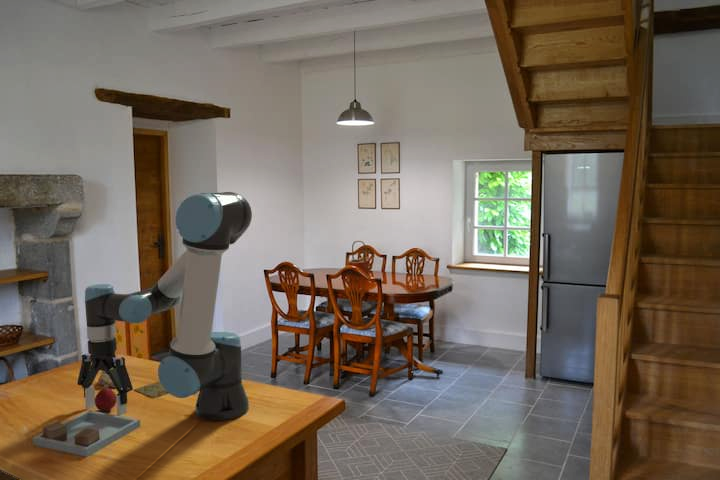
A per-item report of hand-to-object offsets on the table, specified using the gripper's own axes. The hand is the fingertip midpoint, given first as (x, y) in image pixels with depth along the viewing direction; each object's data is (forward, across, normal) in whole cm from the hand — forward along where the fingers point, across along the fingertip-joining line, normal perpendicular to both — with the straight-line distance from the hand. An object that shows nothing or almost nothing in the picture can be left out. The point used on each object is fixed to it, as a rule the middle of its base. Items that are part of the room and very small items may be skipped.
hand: (106, 411), depth 166 cm
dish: (0, -8, +14) cm, 16 cm away
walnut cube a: (0, -14, +20) cm, 24 cm away
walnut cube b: (0, -2, +20) cm, 20 cm away
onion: (0, 0, 0) cm, 0 cm away
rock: (+1, +16, -19) cm, 25 cm away
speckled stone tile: (+1, -2, -20) cm, 21 cm away
